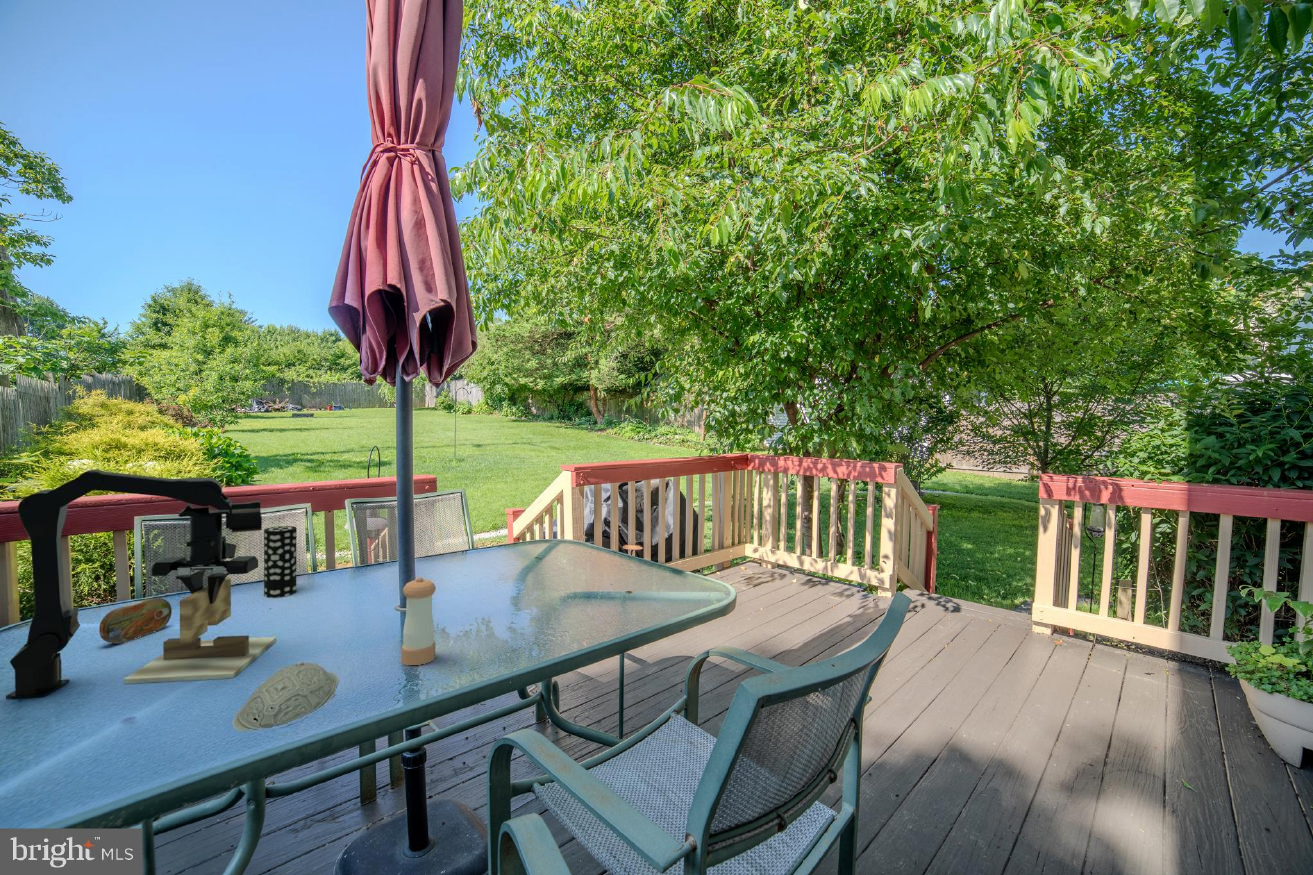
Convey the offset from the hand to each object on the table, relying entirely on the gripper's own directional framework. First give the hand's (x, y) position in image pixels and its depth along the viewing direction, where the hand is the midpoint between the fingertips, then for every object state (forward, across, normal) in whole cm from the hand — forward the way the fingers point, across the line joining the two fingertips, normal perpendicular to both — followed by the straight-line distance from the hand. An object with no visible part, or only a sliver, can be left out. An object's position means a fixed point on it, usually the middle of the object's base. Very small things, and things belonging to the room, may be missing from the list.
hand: (206, 603), depth 129 cm
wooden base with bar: (+13, 0, 0) cm, 13 cm away
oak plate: (+6, 0, 0) cm, 6 cm away
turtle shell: (+14, -25, +21) cm, 36 cm away
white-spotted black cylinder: (+13, +5, -49) cm, 51 cm away
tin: (+13, +24, -17) cm, 32 cm away
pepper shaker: (+13, -46, +5) cm, 48 cm away
